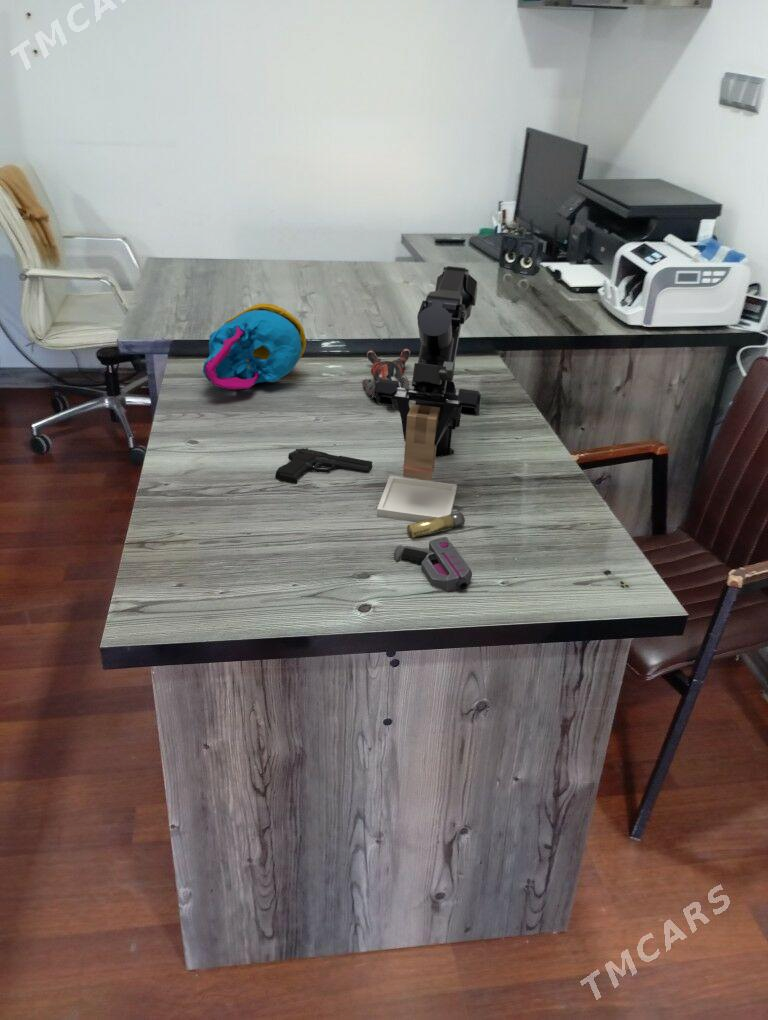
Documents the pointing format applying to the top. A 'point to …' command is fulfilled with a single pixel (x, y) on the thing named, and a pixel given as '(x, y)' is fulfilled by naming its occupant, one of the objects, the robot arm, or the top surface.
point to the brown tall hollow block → (420, 442)
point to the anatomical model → (254, 347)
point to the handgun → (317, 464)
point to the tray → (416, 499)
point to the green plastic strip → (613, 578)
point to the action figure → (387, 370)
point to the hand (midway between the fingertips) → (420, 442)
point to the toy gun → (439, 564)
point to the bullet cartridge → (435, 525)
